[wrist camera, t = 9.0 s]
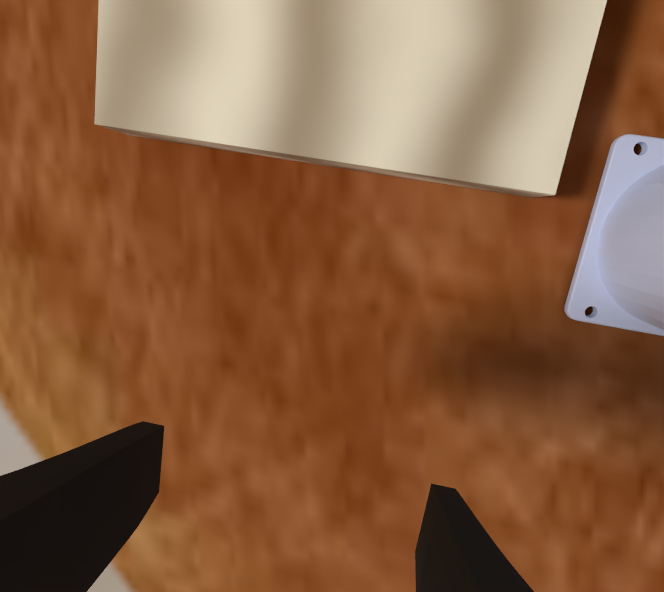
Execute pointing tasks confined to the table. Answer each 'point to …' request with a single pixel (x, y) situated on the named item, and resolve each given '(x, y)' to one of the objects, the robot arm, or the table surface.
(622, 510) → the table surface
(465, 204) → the table surface
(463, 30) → the board
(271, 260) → the table surface
